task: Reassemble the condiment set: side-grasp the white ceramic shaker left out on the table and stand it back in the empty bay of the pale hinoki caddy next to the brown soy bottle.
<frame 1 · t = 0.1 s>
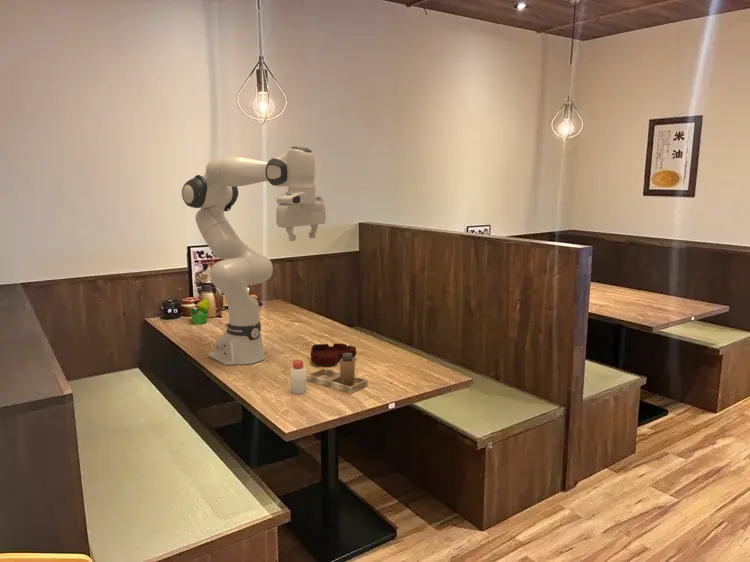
hand: (302, 239, 192), 48 cm above the table, tool pointing down, fingers open, 8 cm apart
fruit basket: (201, 322, 271), on the table
white shaker: (298, 394, 185), on the table
brown soy bottle: (347, 386, 190), point 1 cm above the table, touching caddy
caddy: (336, 385, 193), on the table
ashtray: (328, 361, 218), on the table
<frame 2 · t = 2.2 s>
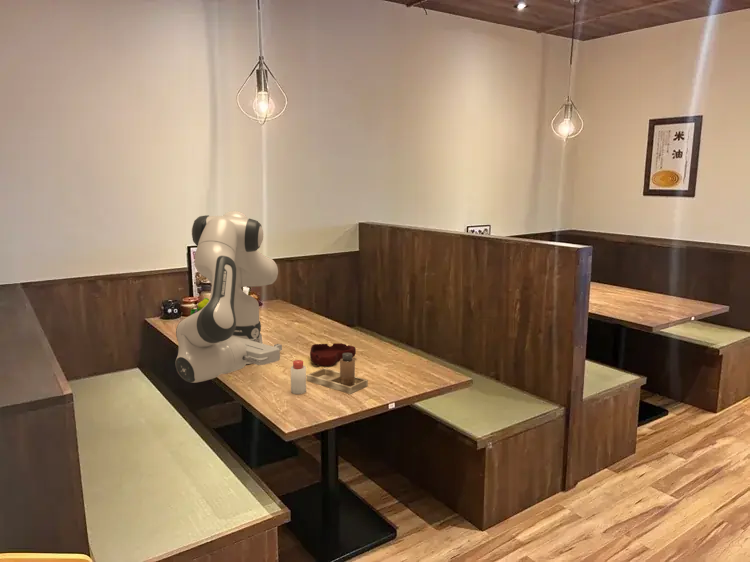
hand: (269, 343, 172), 20 cm above the table, tool horizontal, fingers open, 8 cm apart
nothing on the table moved.
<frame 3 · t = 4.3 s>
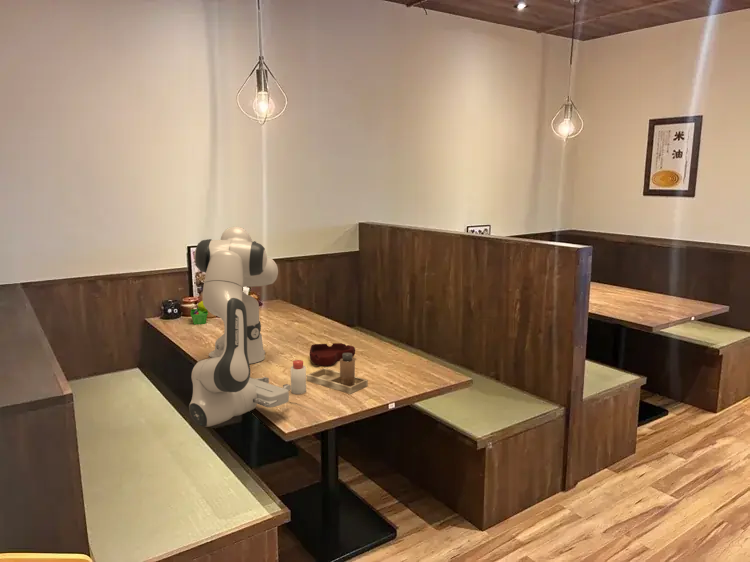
hand: (278, 383, 177), 6 cm above the table, tool horizontal, fingers open, 8 cm apart
nothing on the table moved.
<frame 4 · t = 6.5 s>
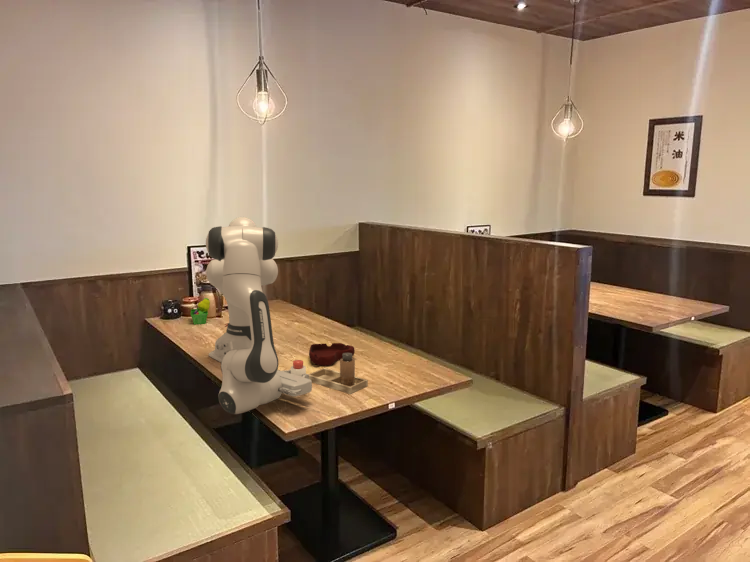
hand: (300, 374, 185), 7 cm above the table, tool horizontal, fingers closed on white shaker, 5 cm apart
white shaker: (298, 394, 185), on the table, touching gripper
everything else where it was.
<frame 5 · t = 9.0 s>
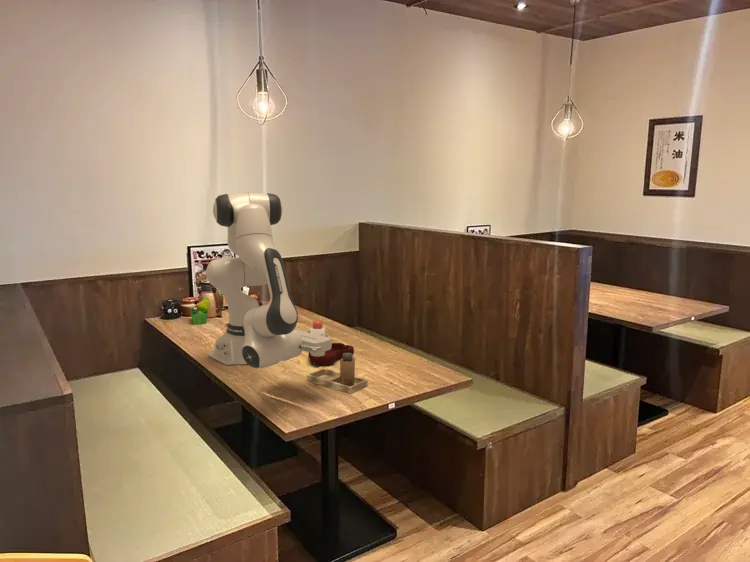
hand: (319, 334, 190), 18 cm above the table, tool horizontal, fingers closed on white shaker, 5 cm apart
white shaker: (317, 354, 190), point 11 cm above the table, touching gripper
when the fingers open (9 cm above the table, at t = 11.6 s): white shaker drops 1 cm, resting on caddy.
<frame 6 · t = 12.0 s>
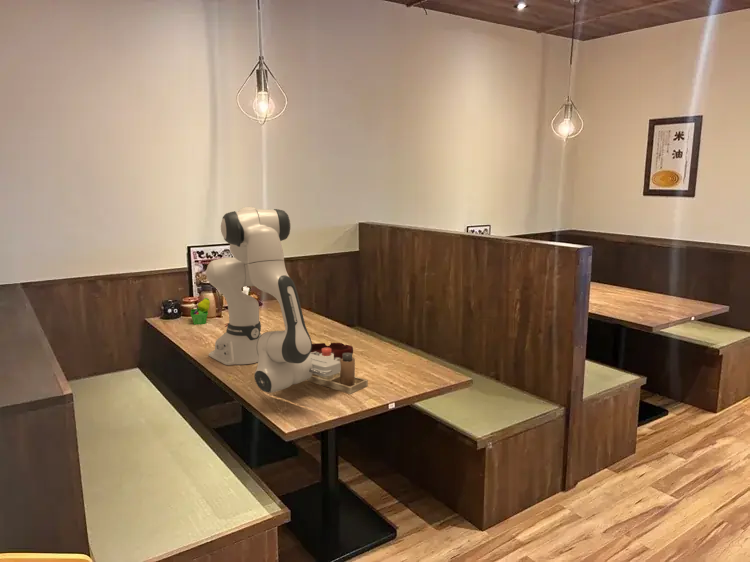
hand: (328, 356, 194), 9 cm above the table, tool horizontal, fingers open, 8 cm apart
white shaker: (326, 380, 195), point 1 cm above the table, touching caddy
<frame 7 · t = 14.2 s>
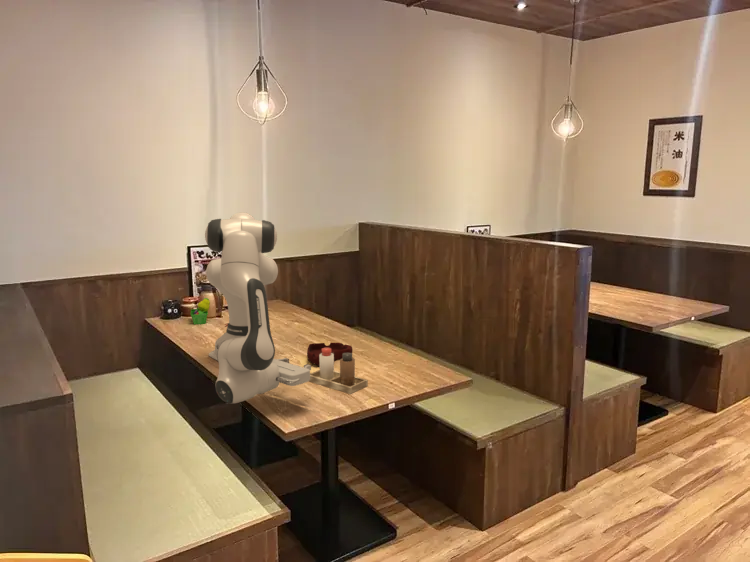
hand: (298, 363, 183), 10 cm above the table, tool horizontal, fingers open, 8 cm apart
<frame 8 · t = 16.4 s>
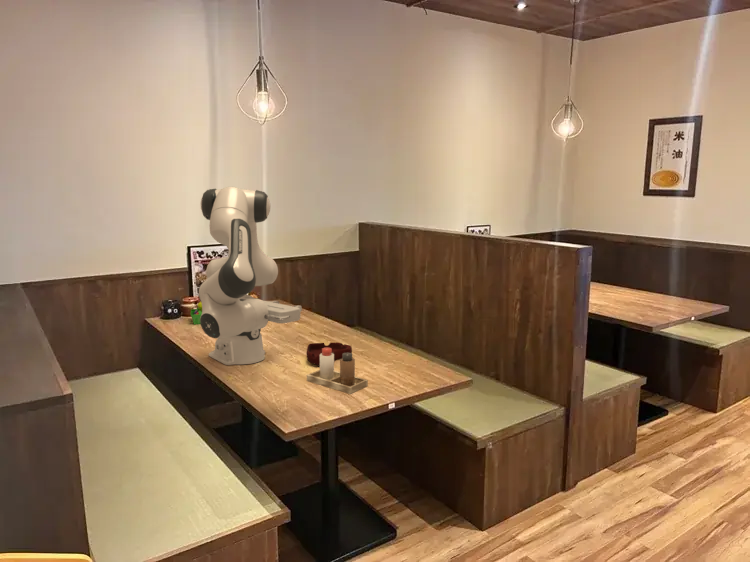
hand: (288, 305, 176), 30 cm above the table, tool horizontal, fingers open, 8 cm apart
at the end: white shaker inside the target area on the caddy (0.1 cm from its centre), point 1.0 cm above the caddy's base; white shaker tilted 0°; brown soy bottle tilted 0° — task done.
